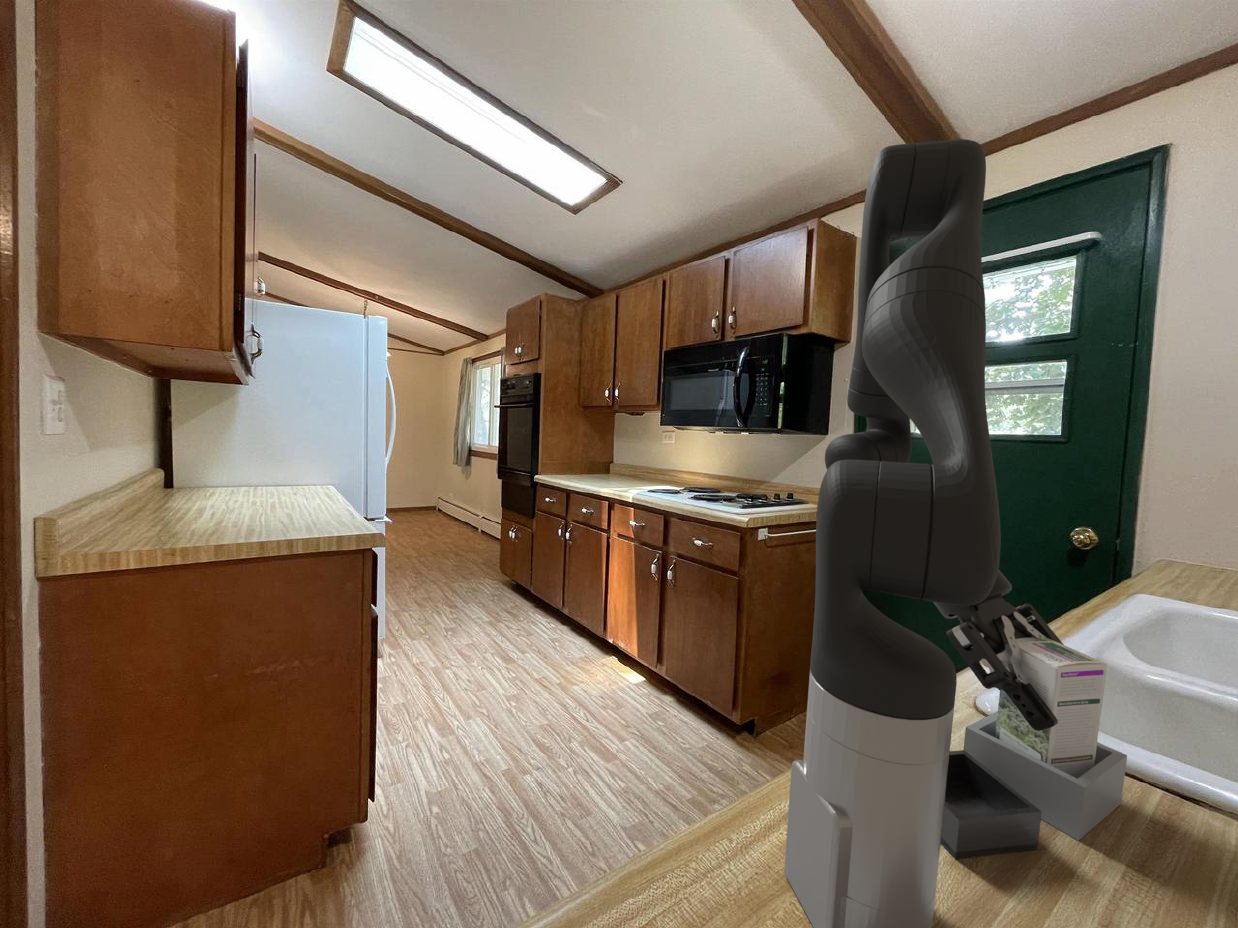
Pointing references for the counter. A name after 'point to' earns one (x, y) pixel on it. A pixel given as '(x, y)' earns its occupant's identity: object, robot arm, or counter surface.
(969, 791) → the bin
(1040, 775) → the light gray open bin
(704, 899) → the counter surface
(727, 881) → the counter surface
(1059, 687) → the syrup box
